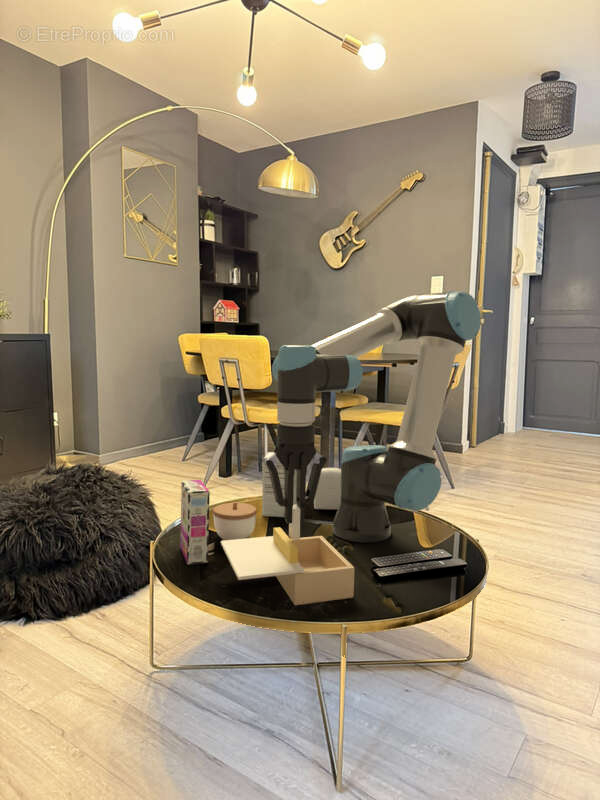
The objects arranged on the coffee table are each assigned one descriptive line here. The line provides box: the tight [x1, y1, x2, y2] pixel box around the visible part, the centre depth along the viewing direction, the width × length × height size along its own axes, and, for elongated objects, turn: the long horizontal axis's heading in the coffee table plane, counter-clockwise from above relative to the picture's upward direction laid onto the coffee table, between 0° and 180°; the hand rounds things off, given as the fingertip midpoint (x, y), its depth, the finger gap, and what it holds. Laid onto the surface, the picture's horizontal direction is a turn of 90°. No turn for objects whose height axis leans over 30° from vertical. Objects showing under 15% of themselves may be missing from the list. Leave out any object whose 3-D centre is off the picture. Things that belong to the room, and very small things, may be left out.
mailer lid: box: [220, 526, 304, 581], centre depth 106 cm, size 12×18×4 cm
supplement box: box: [261, 451, 297, 518], centre depth 155 cm, size 10×9×17 cm
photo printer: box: [313, 467, 341, 510], centre depth 160 cm, size 10×4×12 cm, turn 88°
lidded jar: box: [212, 501, 257, 541], centre depth 133 cm, size 11×11×9 cm
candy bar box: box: [180, 479, 210, 566], centre depth 122 cm, size 11×5×16 cm, turn 21°
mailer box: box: [275, 535, 355, 606], centre depth 110 cm, size 12×18×6 cm, turn 18°
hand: (294, 537), depth 108 cm, fingers closed
